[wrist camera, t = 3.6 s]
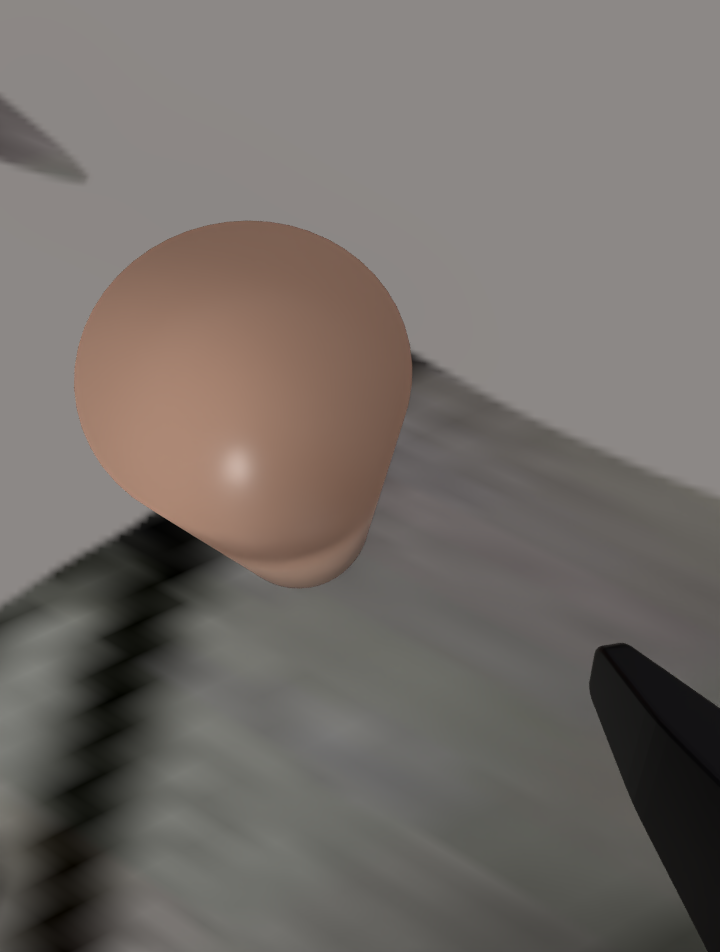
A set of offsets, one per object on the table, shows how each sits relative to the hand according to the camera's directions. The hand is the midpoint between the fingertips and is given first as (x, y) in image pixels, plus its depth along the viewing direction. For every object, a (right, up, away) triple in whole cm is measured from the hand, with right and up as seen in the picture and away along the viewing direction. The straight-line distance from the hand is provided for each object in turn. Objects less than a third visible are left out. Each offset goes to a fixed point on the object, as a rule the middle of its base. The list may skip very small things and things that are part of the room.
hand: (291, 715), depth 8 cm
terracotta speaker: (-1, +2, +12) cm, 12 cm away
